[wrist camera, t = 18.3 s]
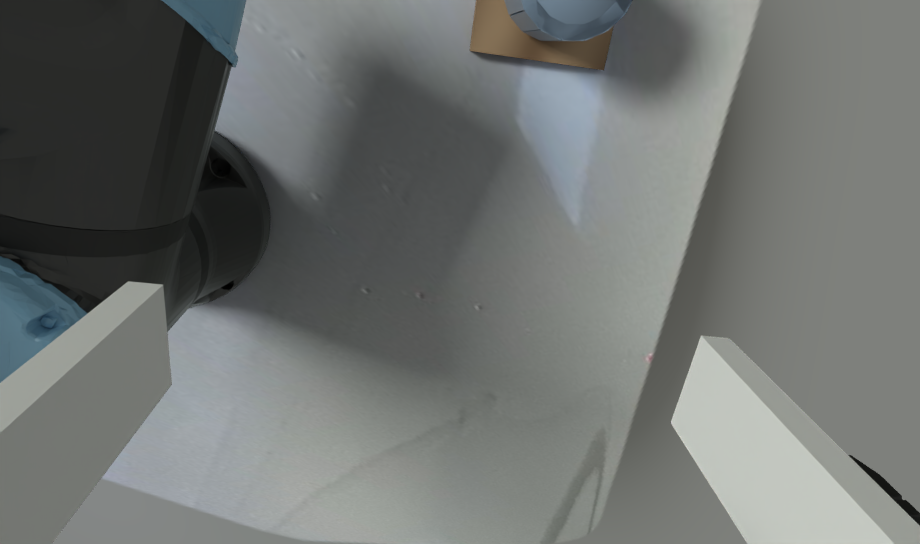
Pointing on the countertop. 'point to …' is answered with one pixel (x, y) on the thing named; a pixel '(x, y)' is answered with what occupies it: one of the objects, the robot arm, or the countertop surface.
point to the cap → (566, 17)
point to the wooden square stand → (531, 40)
